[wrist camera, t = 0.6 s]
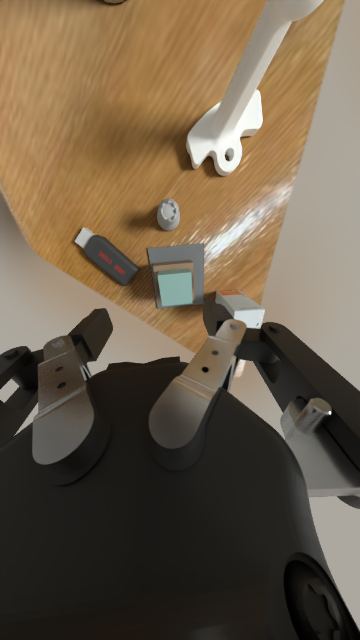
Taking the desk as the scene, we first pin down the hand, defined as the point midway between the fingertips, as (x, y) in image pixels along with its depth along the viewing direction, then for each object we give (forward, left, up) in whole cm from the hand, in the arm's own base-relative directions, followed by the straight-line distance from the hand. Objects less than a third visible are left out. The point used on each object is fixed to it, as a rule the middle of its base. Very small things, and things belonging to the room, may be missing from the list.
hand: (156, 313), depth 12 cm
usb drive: (-3, -11, -24) cm, 27 cm away
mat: (+3, +3, -24) cm, 24 cm away
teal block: (+3, +2, -19) cm, 20 cm away
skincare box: (+9, +15, -24) cm, 30 cm away
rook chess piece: (-9, +2, -24) cm, 26 cm away
